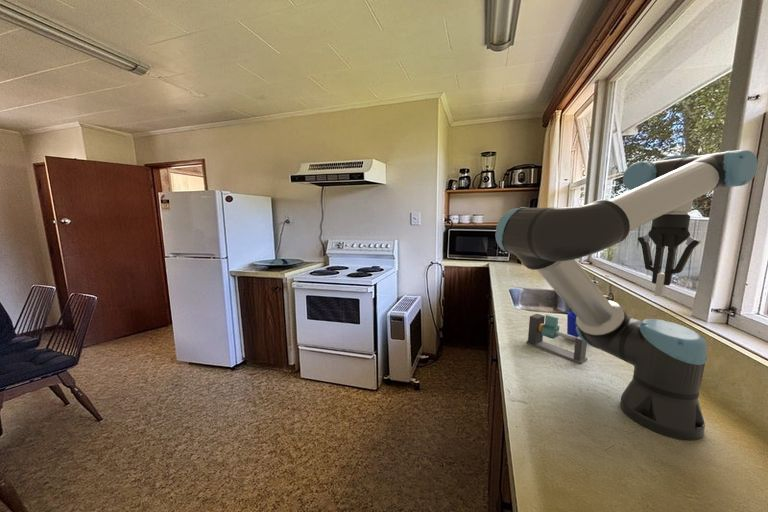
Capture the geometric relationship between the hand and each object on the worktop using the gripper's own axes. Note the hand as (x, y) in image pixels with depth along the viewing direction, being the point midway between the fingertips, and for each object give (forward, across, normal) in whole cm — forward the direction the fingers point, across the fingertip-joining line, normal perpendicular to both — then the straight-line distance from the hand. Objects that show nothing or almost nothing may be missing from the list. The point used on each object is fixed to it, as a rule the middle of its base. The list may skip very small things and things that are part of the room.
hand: (659, 295), depth 85 cm
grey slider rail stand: (+26, +24, +5) cm, 36 cm away
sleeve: (+21, +27, +5) cm, 35 cm away
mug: (+27, +24, -15) cm, 39 cm away
